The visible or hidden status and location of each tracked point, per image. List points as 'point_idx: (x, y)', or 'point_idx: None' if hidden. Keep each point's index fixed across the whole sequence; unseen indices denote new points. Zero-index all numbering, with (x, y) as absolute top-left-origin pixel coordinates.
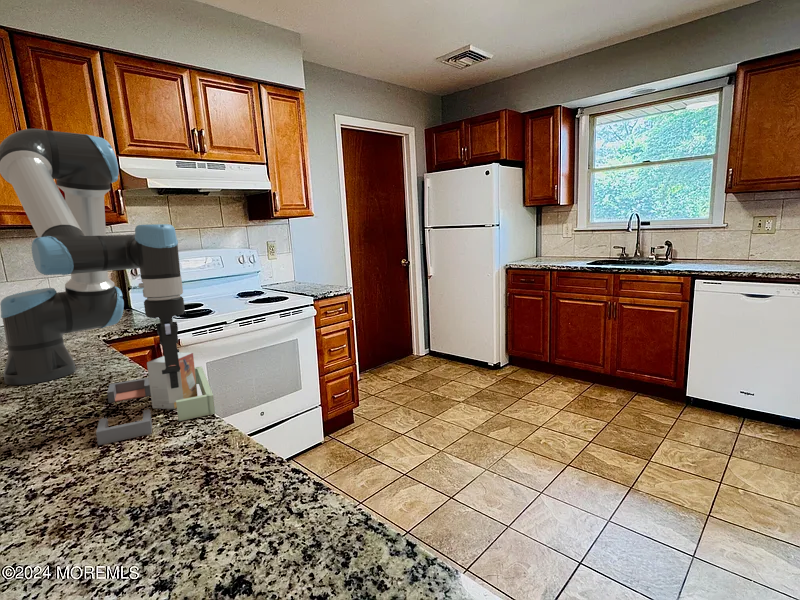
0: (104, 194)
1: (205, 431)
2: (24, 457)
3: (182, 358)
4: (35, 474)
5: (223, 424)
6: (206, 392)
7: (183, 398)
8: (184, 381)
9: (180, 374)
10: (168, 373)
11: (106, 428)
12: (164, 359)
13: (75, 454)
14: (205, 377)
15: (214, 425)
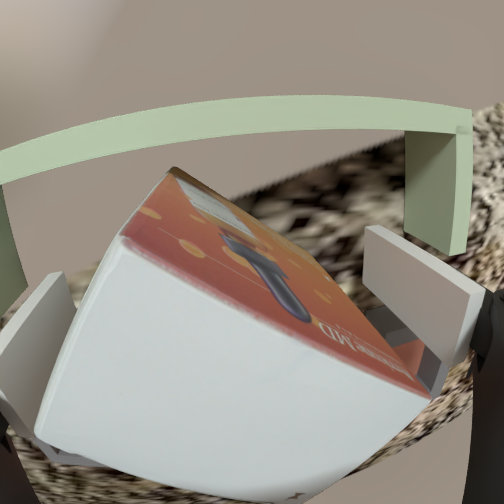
0: None
1: (499, 159)
2: (379, 453)
3: (323, 339)
4: (448, 409)
5: (487, 109)
6: (436, 128)
7: (266, 228)
8: (272, 245)
9: (468, 279)
10: (466, 346)
11: (436, 387)
12: (313, 460)
13: None
14: (147, 114)
15: (484, 131)
